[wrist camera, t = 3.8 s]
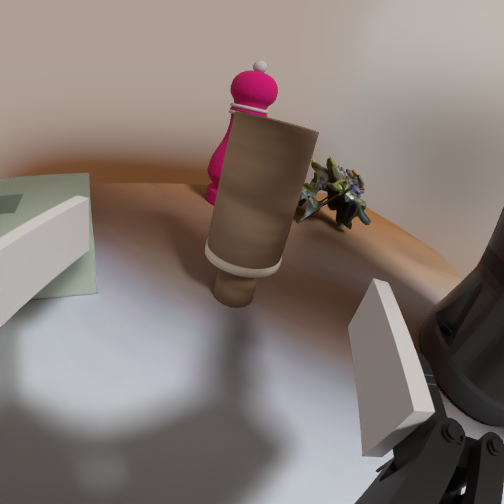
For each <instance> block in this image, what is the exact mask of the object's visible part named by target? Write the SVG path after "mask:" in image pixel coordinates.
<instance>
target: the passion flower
mask: <svg viewBox="0 0 504 504" xmlns="http://www.w3.org/2000/svg"><path fill="white" fill-rule="evenodd" d="M311 165H312V168H313V169H314V170H315V171H316V172H314V178H313V179H312V181H311V183H310V185H309V184H308V183H305V184H304V185H303V188H302V192H301V195H300V198H299V202H298V205H297V207H298V206H302V205H303V204H304V203H305V202H306V201H307V206H306V208H305V213H304V215H303V217H302V218H301V219H300V220H299V221H298V222H297V223H298V224H299V223H300V222H301V221H303V220H304V219H305V218H306V217H307V216H309V215H312V214H313V213H315V212H318V211H319V210H320V208H321V207H322V206H324V205H326V204H328V207H329V209H330V210H336V211H337V213H336V222H337V224H338V225H339V226H340V227H344V225H345V226H346V227H348V228H349V229H351V227H352V223H351V222H352V219H353V218H354V217H356V216H358V217H359V218H360V220H361V221H362V222H363V223H364V224H365V225H369V224H370V222H371V221H370V219H369V218H368V217H367V215H366V214H365V208H366V202H365V201H363V200H362V199H361V198H360V197H361V196H360V194H361V193H364V192H363V191H360V190H364V183H363V181H362V178H361V176H360V175H357V173H356V172H355V171H354V170H352V172H351V171H350V170H348V169H347V170H346V172H344V170H343V168H340V167H339V166H338V168H337V166H336V162H335V160H334V159H333V158H331V157H330V158H328V160H327V164H326V165H327V167H326V166H324V167H325V168H324V167H321V166H320V165H319V164H318V163H316V162H315V160H312V162H311ZM346 173H347V174H348V176H346ZM351 178H352V179H351ZM319 190H323V191H327V193H328V196H327V197H326V198H325V199H327V198H328V200H327V201H325V202H324V203H322V202H323V201H324V200H325V199H323V200H321V201H317V200H316V194H317V192H318V191H319ZM309 197H311V198H312V199H313V200H314V203H313V202H312V201H311V200H310V199H309ZM321 203H322V204H321Z"/></svg>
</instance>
